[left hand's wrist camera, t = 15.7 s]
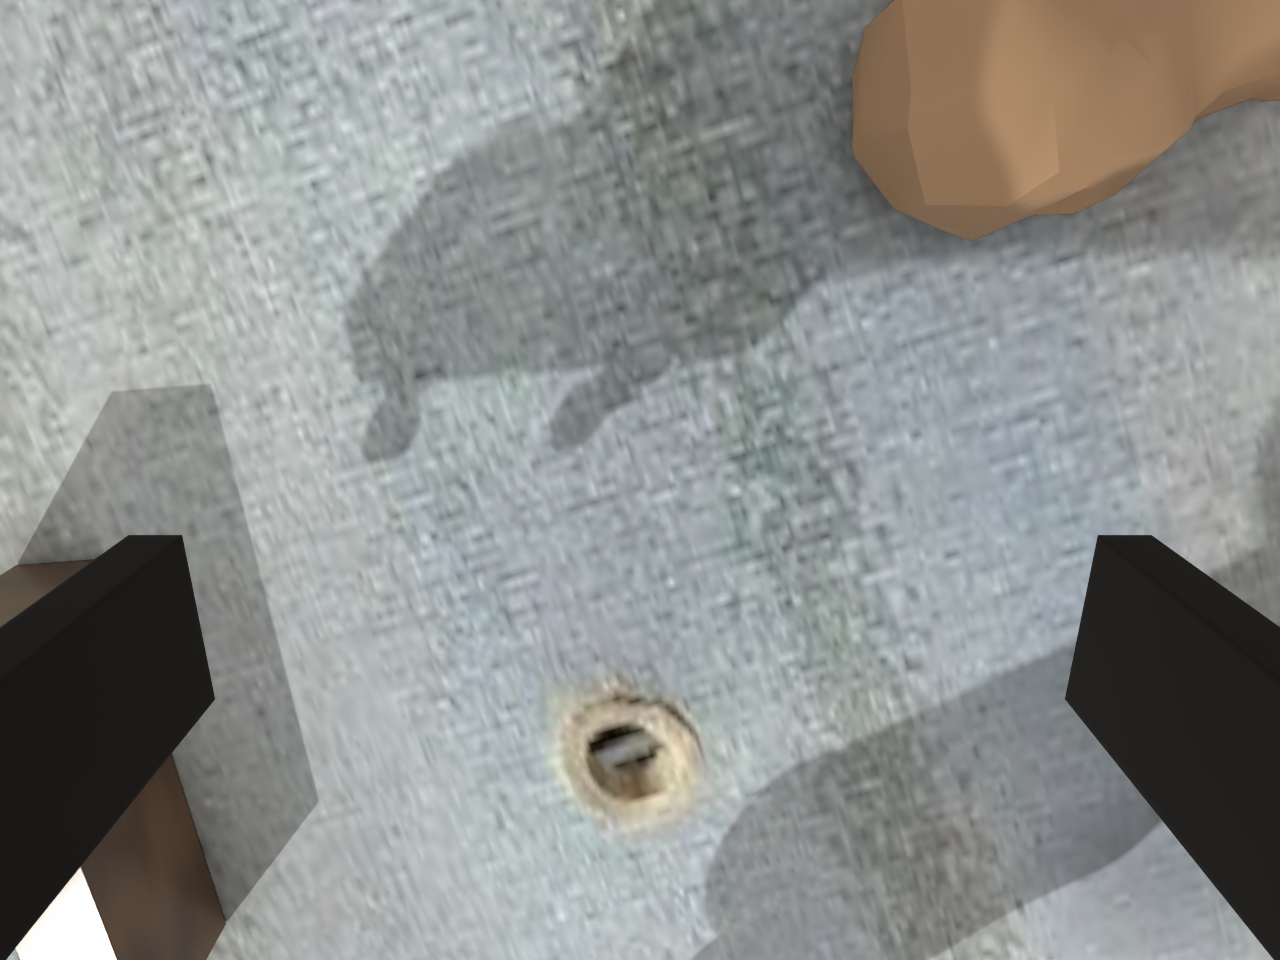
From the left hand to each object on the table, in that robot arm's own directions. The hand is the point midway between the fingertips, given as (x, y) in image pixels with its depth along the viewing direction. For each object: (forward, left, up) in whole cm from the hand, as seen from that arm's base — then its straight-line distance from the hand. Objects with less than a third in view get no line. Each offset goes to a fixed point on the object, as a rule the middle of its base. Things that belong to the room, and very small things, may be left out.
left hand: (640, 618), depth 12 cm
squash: (-10, -18, -30) cm, 36 cm away
